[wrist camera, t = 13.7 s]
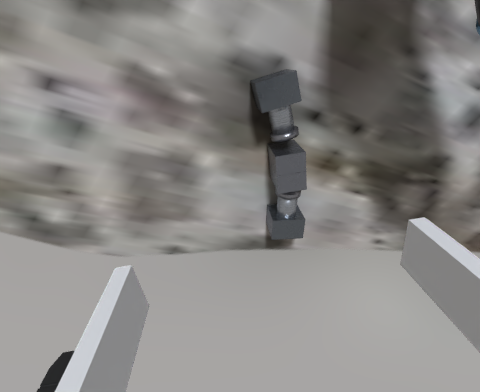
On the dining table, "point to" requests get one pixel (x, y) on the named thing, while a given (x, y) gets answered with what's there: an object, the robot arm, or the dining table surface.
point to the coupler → (287, 166)
